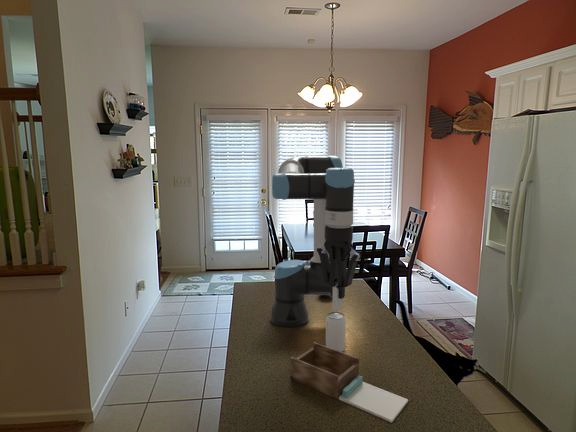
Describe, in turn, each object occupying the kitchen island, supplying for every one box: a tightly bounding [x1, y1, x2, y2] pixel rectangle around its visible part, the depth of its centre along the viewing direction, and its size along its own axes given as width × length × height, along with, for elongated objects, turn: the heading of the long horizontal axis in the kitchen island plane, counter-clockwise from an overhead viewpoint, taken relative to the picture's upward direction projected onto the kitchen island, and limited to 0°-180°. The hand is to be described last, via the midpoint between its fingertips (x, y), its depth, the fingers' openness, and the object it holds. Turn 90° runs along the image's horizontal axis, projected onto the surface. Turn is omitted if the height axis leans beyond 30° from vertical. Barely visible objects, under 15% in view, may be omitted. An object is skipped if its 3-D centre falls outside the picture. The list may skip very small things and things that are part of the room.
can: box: [325, 311, 346, 353], centre depth 131 cm, size 6×6×12 cm
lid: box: [338, 374, 409, 423], centre depth 104 cm, size 15×10×3 cm
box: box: [289, 341, 360, 400], centre depth 114 cm, size 16×12×6 cm
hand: (337, 308), depth 109 cm, fingers closed
